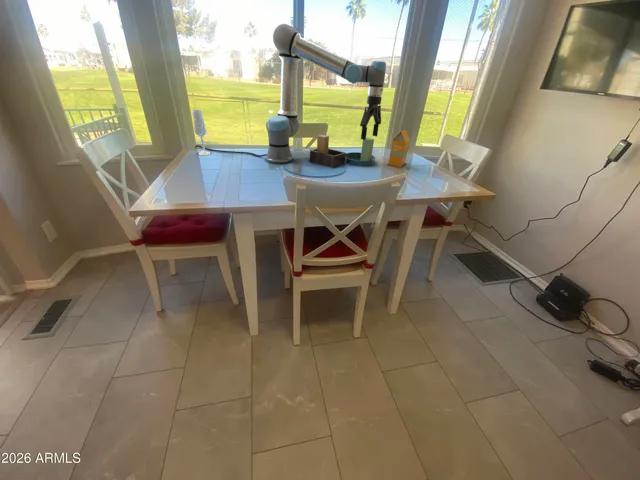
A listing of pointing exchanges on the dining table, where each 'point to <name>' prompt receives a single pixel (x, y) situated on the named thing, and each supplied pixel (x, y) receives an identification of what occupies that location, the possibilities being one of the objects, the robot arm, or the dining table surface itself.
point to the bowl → (358, 159)
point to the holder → (328, 157)
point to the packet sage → (367, 149)
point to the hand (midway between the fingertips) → (369, 137)
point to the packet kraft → (323, 144)
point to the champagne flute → (199, 128)
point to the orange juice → (399, 149)
